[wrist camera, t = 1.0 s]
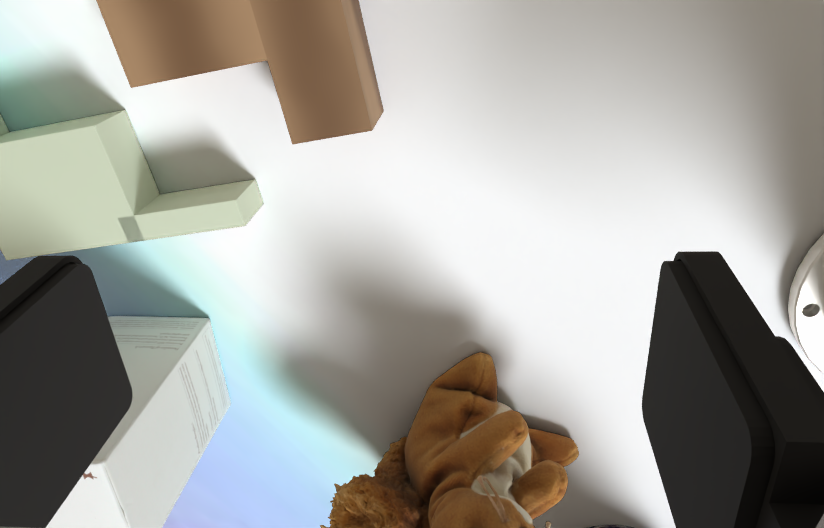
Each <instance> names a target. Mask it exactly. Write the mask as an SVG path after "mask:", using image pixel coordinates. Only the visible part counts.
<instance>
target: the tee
mask: <svg viewBox="0 0 824 528" xmlns="http://www.w3.org/2000/svg"><path fill="white" fill-rule="evenodd" d="M96 1H97V3H98V6H99V8H100V11H101V13H102V16H103V18H104V21H105V24H106V26H107V29H108V31H109V34H110V36H111V39H112V41H113V44H114V46H115V49H116V51H117V54H118V56H119V59H120V61H121V64H122V66H123V69H124V71H125V74H126V76H127V79H128V81H129V84H130V87H131V88H133V87H138V86H143V85H148V84H153V83H157V82H162V81H167V80H172V79H177V78H182V77H187V76H192V75H197V74H202V73H207V72H212V71H217V70H222V69H227V68H232V67H237V66H242V65H247V64H252V63H257V62H262V61H268V64H269V67H270V71H271V74H272V77H273V81H274V84H275V87H276V91H277V94H278V98H279V101H280V104H281V108H282V111H283V114H284V118H285V121H286V124H287V128H288V131H289V135H290V138H291V141H292V144H297V143H303V142H309V141H314V140H320V139H326V138H332V137H338V136H343V135H349V134H355V133H361V132H367V131H372V130H373V128H374V126H375V125H376V123H377V121H378V120H379V118H380V116H381V115H382V113H383V106H382V102H381V97H380V93H379V89H378V84H377V80H376V75H375V71H374V67H373V62H372V58H371V53H370V49H369V45H368V40H367V36H366V31H365V27H364V23H363V18H362V14H361V9H360V5H359V1H358V0H96Z"/></svg>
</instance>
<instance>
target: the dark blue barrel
mask: <svg viewBox="0 0 824 528" xmlns="http://www.w3.org/2000/svg"><path fill="white" fill-rule="evenodd" d="M588 528H632V527H627V526H619V525H601V526H593V527H588Z"/></svg>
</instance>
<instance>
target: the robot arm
mask: <svg viewBox="0 0 824 528" xmlns="http://www.w3.org/2000/svg"><path fill="white" fill-rule="evenodd" d="M788 313H789V321H790V327H791V329H792V332H793V334H794V337H795V339H796V341H797V343H798V344H799V346H800V347H801V349H802V350H803V352H804V353H805V355H806V357H807V358H808V359H809V360H810V361H811V362H812V363H813V364H814V365H815V366H816V367H817V368H818V369H819V370H820V371H821V372H823V373H824V234H823V235H822V236H821V237H820V238H819V239H818V240H817V242H816V243H815V244H814V245H813V246H812V247H811V248H810V250H809V251H808V253H807V254H806V256H805V257H804V259H803V261H802V262H801V264H800V266H799V267H798V269H797V272H796V274H795V277H794V280H793V283H792V285H791V288H790V294H789V303H788ZM132 397H133V394H132V387H131V384H130V381H129V378H128V375H127V372H126V369H125V366H124V363H123V361H122V358H121V355H120V352H119V349H118V346H117V343H116V340H115V337H114V334H113V331H112V328H111V326H110V323H109V320H108V317H107V314H106V311H105V308H104V305H103V302H102V299H101V296H100V293H99V291H98V288H97V285H96V282H95V279H94V276H93V273H92V271H91V269H90V268H89V267H88V266H87V265H85V264H82V262H81V261H80V260H79V259H78V258H77V257H75V256H38V257H36V258H34V259H33V260H31V261H30V262H29V263H28V264H26V265H25V266H24V267H23V268H21V269H20V270H19V271H17V272H16V273H15V274H14V275H12V276H11V277H10V278H9V279H7V280H6V281H5V282H4V283H2V284H1V285H0V528H46V527H47V525H48V524H49V522H50V521H51V519H52V518H53V517H54V515H55V514H56V512H57V511H58V509H59V508H60V507H61V505H62V504H63V502H64V501H65V500H66V498H67V497H68V495H69V494H70V492H71V491H72V490H73V488H74V487H75V485H76V484H77V482H78V481H79V480H80V478H81V477H82V475H83V474H84V473H85V471H86V470H87V468H88V467H89V465H90V464H91V463H92V461H93V460H94V458H95V457H96V455H97V454H98V453H99V451H100V450H101V448H102V447H103V445H104V444H105V443H106V441H107V440H108V438H109V437H110V436H111V434H112V433H113V431H114V430H115V428H116V427H117V426H118V424H119V423H120V421H121V420H122V418H123V417H124V416H125V414H126V413H127V411H128V410H129V408H130V406H131V403H132ZM642 412H643V419H644V423H645V426H646V430H647V433H648V436H649V440H650V443H651V446H652V449H653V453H654V456H655V459H656V463H657V466H658V469H659V473H660V476H661V479H662V483H663V486H664V489H665V493H666V496H667V499H668V503H669V506H670V509H671V513H672V516H673V519H674V523H675V526H676V528H824V392H823V391H822V389H821V388H820V386H819V385H818V383H817V382H816V380H815V379H814V377H813V376H812V375H811V373H810V372H809V370H808V369H807V367H806V366H805V364H804V363H803V361H802V360H801V358H800V357H799V356H798V354H797V353H796V351H795V350H794V348H793V347H792V345H791V344H790V343H789V342H788V341H787V340H786V339H785V338H782V337H776V336H774V334H773V333H772V331H771V330H770V328H769V326H768V325H767V323H766V322H765V320H764V319H763V317H762V316H761V314H760V313H759V311H758V310H757V308H756V307H755V305H754V304H753V302H752V301H751V299H750V298H749V296H748V295H747V293H746V292H745V290H744V289H743V287H742V286H741V284H740V283H739V281H738V280H737V278H736V276H735V275H734V273H733V272H732V270H731V269H730V267H729V266H728V264H727V263H726V261H725V260H724V258H723V257H722V255H721V254H720V253H719V252H678V253H677V254H676V256H675V258H674V261H664V262H663V264H662V266H661V271H660V277H659V284H658V291H657V298H656V305H655V312H654V319H653V326H652V334H651V341H650V348H649V355H648V362H647V369H646V376H645V383H644V390H643V398H642Z"/></svg>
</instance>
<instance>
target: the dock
mask: <svg viewBox="0 0 824 528" xmlns="http://www.w3.org/2000/svg"><path fill="white" fill-rule="evenodd" d="M263 204H264V203H263V200H262V197H261V194H260V191H259V188H258V185H257V182H256V179H254V180H247V181H241V182H235V183H228V184H222V185H216V186H210V187H203V188H197V189H191V190H185V191H178V192H172V193H166V194H160V193H159V191H158V188H157V186H156V183H155V181H154V179H153V176H152V174H151V171H150V169H149V166H148V164H147V161H146V159H145V156H144V154H143V151H142V149H141V147H140V144H139V142H138V139H137V137H136V134H135V132H134V129H133V127H132V124H131V122H130V120H129V117H128V115H127V112H126V110H122V111H116V112H111V113H106V114H101V115H96V116H90V117H85V118H80V119H75V120H70V121H64V122H59V123H54V124H49V125H44V126H38V127H33V128H28V129H23V130H18V131H12V132H9V130H8V128H7V126H6V124H5V122H4V120H3V118H2V116H1V114H0V249H1V251H2V253H3V255H4V257H5V259H6V260H12V259H19V258H26V257H33V256H40V255H47V254H54V253H61V252H68V251H75V250H82V249H89V248H95V247H102V246H109V245H116V244H123V243H130V242H137V241H144V240H151V239H158V238H165V237H172V236H179V235H186V234H193V233H200V232H207V231H214V230H221V229H228V228H235V227H242V226H246V224H247V223H248V222H249V221H250V220H251V218H252V217H253V216H254V215H255V214H256V212H257V211H258V210H259V209H260V208H261V206H262V205H263Z"/></svg>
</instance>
